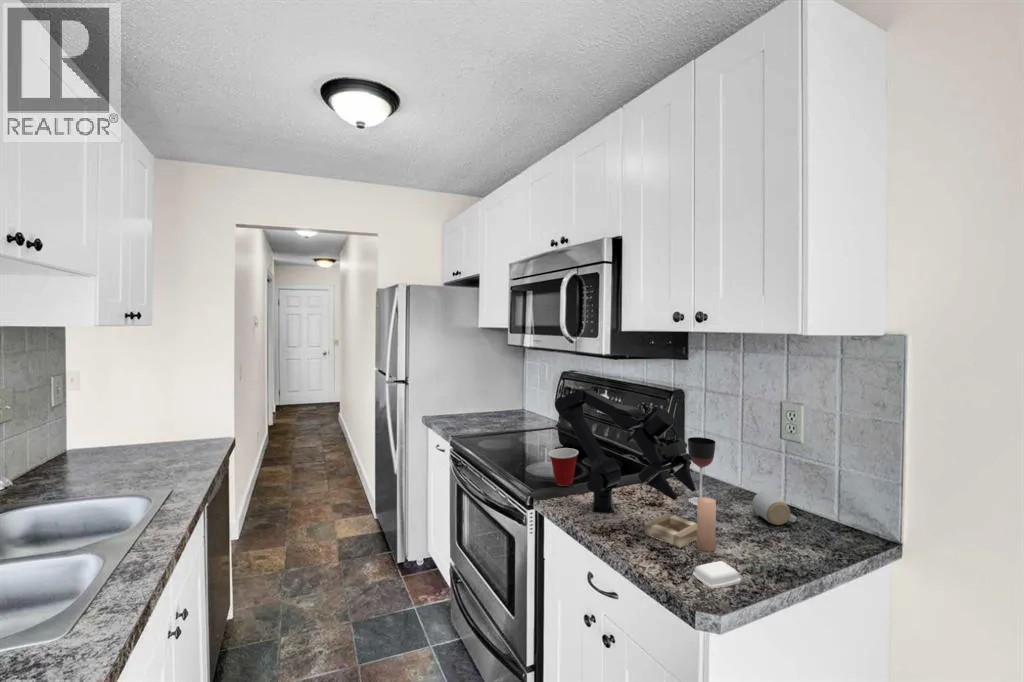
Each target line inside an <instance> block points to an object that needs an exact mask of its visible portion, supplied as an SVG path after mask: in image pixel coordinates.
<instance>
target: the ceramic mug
mask: <svg viewBox="0 0 1024 682" xmlns="http://www.w3.org/2000/svg"><path fill="white" fill-rule="evenodd" d="M752 508H753V511H754V512H755V513H756V514H757V515H759V516H760V517H761V518H763V519H764V520H765V521H767V522H768V523H770V524H772V525H774V526H782V525H784V524H786V523H787V522H788V521H789V522H791V523H796V521H797V516H795V515H794V514H792V513H791V509H790V508H789V506H788V505H787V503H785V501H784V500H782V499H781V498H779V496H777V495H776V494H775V493H773V492H771V491H770V490H762V491H759V492H758V493H756V494H755V495H754V496H753V499H752Z"/></svg>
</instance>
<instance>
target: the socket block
mask: <svg viewBox="0 0 1024 682" xmlns="http://www.w3.org/2000/svg"><path fill="white" fill-rule="evenodd" d="M645 534H648V535H650V536H653V537H655V538H658V539H661V540H663V541H666V542H668V543H671V544H673V545H675V546H678V547H680V548H681V547H683V546H685V545H687V544H689V543H691V542H692V543H694V542H696V541H697V522H695V521H690V520H687V519H685V518H683V517H679V516H676V515H673V514H671V513H665V514H663V515H660V516H659V517H656V518H654V519H652V520H650V521H648V522H646V523H644V535H645ZM650 536H649V537H650ZM655 538H654V539H655ZM695 540H696V541H695ZM693 541H694V542H693ZM692 543H691V544H692ZM689 545H690V544H689ZM675 546H674V547H675ZM687 546H688V545H687ZM685 547H686V546H685ZM680 548H679V549H680ZM683 548H684V547H683Z"/></svg>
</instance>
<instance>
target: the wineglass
mask: <svg viewBox="0 0 1024 682" xmlns="http://www.w3.org/2000/svg"><path fill="white" fill-rule="evenodd" d="M687 450H688V451H687V452H688V454H689V455H690V456H691V458H692V460H691V463H693V464H694V465H695V466H697V467H698V468H699V497H690V498H688V500H689V501H688V503H690V502H691V503H690V504H692V503H693V504H692V505H694V506H697V499H698V498H700V497H703V468H705V467H708V466H710V465H711V464H712V462H713V460H714V458H715V451H716V441H715V440H714V439H711V438H708V437H701V436H700V437H699V436H698V437H697V436H695V437H694V436H693V437H689V438H687Z"/></svg>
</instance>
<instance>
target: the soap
mask: <svg viewBox="0 0 1024 682" xmlns="http://www.w3.org/2000/svg"><path fill="white" fill-rule="evenodd" d="M693 575H694V576H695V577H696V578H697V579H698V580H699V581H700V582H701V583H702V585H704V586H705V585H706V587H707V586H708V587H707V588H708V589H710V588H711V590H714V588H716V589H721V588H720V587H722V588H726V586H727V587H730V586H734V585H737V584H740V583H742V582H741V581H742V579H741V578H740V574H739V572H738V571H737V569H735V568H733V567H732V566H730V565H729V564H727V563H725V562H724V561H722V560H720V561H713V562H708V563H704V564H700V565H697V566H695V568H694V571H693V572H692V576H693ZM694 576H693V577H694ZM695 577H694V578H695ZM696 578H695V579H696ZM697 579H696V580H697ZM698 580H697V581H698Z"/></svg>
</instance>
